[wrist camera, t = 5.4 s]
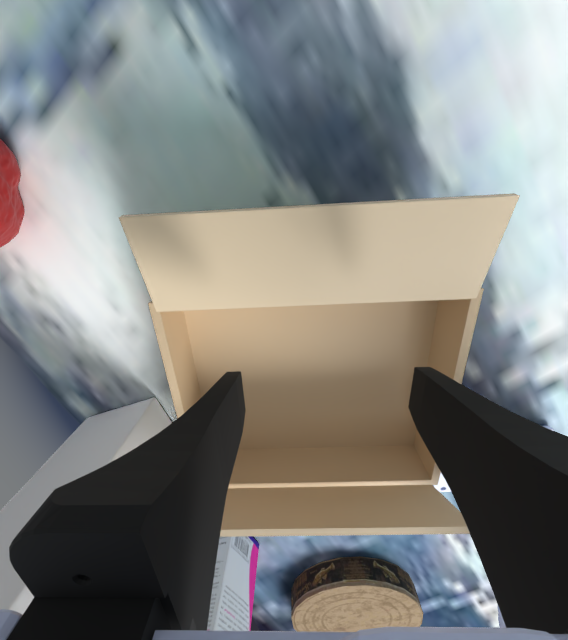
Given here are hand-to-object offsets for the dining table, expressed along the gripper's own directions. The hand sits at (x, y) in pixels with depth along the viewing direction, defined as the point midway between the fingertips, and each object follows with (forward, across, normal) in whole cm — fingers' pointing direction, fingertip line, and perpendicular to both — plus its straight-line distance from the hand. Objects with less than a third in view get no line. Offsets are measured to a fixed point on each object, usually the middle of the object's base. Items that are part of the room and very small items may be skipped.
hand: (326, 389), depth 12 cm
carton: (+10, 0, +6) cm, 12 cm away
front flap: (+5, 0, -4) cm, 7 cm away
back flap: (+4, 0, +13) cm, 13 cm away
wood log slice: (+11, -5, +40) cm, 42 cm away
